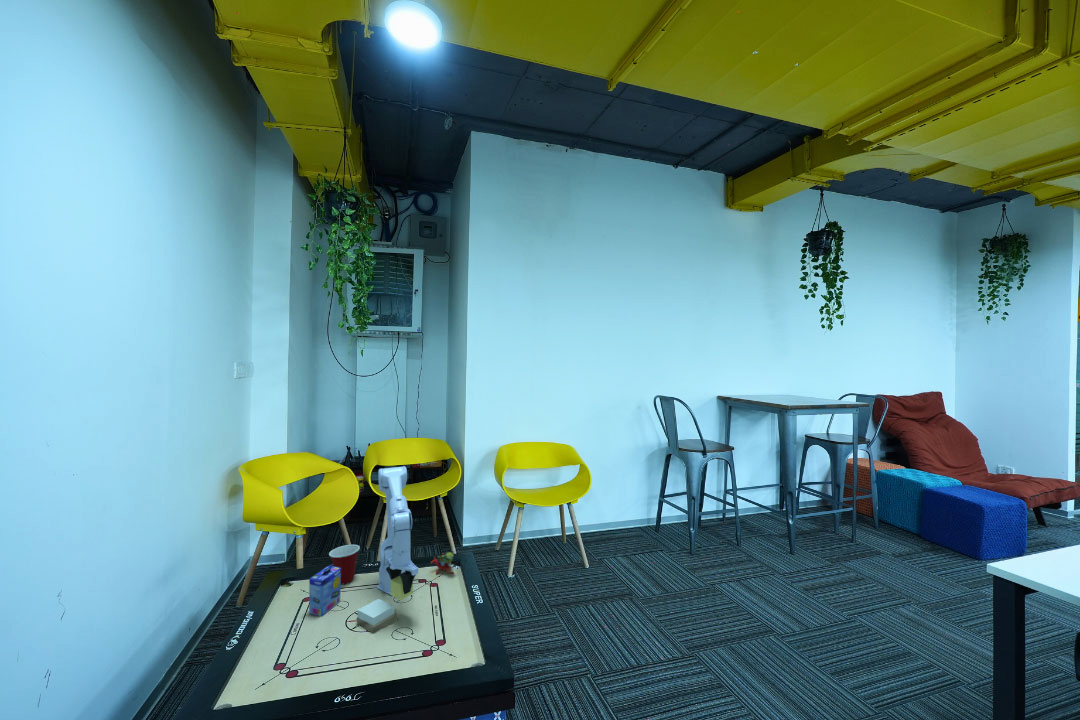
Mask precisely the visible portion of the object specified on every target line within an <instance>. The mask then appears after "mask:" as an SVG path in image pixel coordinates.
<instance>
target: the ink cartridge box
mask: <svg viewBox="0 0 1080 720" xmlns="http://www.w3.org/2000/svg"><path fill="white" fill-rule="evenodd" d="M308 580H309V588H308V590H309V591H308V592H309V593H308V596H309V598H308V600H309V601H308V603H309V604H308V607H309V610H308V613H309V614H310V615H315V616H317V617H318V616H319V617H323V616H324V615H326V614H327V613H328V612H330V610H331V609H333V608H335V606H336V605H339V603H341V589H342V588H341V585H342V584H341V568H339V567H334V566H333V563H332V564H331V565H328V566H326V567H324V568H323V569H321V570H320V571H318V572H317V573H316V574H314V575H313V576H311V577H310V578H309V579H308Z"/></svg>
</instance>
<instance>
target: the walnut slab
mask: <svg viewBox="0 0 1080 720" xmlns="http://www.w3.org/2000/svg"><path fill="white" fill-rule="evenodd" d="M398 615H399V614H398V613H396V612H394V614H393V615H391V616H390V617H388V618H386V619H384V620H383V621H381V622H379V623H378V624H376V625H374V626H373V625H371V624H369V623H367V622H365V621H363V620H361V619H359V618H358V616H357V617H356V624H358V625H359V626H361V628H363V629H365V630H366V631H368V632H370V633H371V634H376V633H377V632H379V631H380V629H381V630H382V628H383V629H384V628H386V627H388V626H390V625H391V623H392V624H394V623H395V622H397V621H398V620H399V619H398ZM396 620H397V621H396Z"/></svg>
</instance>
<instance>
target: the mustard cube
mask: <svg viewBox="0 0 1080 720" xmlns="http://www.w3.org/2000/svg"><path fill="white" fill-rule="evenodd" d="M391 595H392V597H393V598H396V599H398V600H400V601H402V600H403V599H405V598H407V597H409V596H410V595H414V582H413V583H412V586H411V591H410V592H409V593H407V594H404V591H403V583H402V580H401V577H400V576H398V577H396V578H394V579H392V580H391ZM391 595H390V596H391Z"/></svg>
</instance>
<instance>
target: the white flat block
mask: <svg viewBox="0 0 1080 720" xmlns="http://www.w3.org/2000/svg"><path fill="white" fill-rule="evenodd" d="M394 613H395V606H394V605H392V604H391V603H388V602H386V601H384V600H382V599H380V598H376V599H375V600H374V601H372V602H369V603H368V604H366V605H364V606H362V607H360V608H358V609H357V617H358V618H359V619H361V620H363V621H365V622H367V623H369V624H371V625H373V626H374V625H376V624H378V623H379V622H381V621H383V620H384V619H386V618H388V617H390V616H391V615H393V614H394Z"/></svg>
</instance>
